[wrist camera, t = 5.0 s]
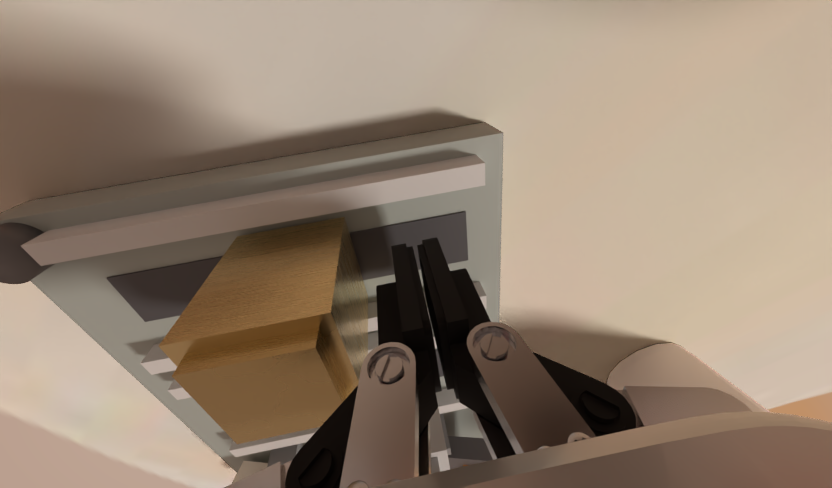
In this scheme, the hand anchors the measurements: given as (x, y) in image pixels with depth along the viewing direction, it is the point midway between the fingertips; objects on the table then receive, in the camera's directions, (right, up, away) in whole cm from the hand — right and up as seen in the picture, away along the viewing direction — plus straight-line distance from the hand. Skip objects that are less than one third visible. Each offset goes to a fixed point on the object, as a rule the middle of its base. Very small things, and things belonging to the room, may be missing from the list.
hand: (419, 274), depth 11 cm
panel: (-5, -6, +7) cm, 10 cm away
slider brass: (-5, 0, +1) cm, 5 cm away
